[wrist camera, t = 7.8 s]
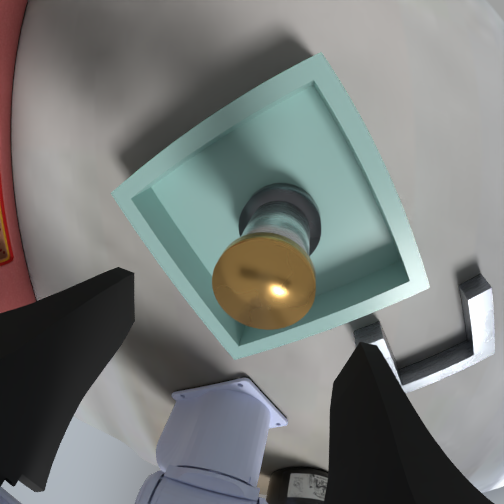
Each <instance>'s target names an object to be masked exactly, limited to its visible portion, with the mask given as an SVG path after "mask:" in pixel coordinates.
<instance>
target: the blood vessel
mask: <svg viewBox="0 0 504 504" xmlns="http://www.w3.org/2000/svg"><path fill="white" fill-rule="evenodd" d="M27 1H28V0H0V313H3V312H6V311H9V310H13V309H16V308H19V307H22V306H25V305H28V304H31V303H34V302H36V299H35V296H34V292H33V289H32V285H31V281H30V278H29V274H28V270H27V266H26V261H25V257H24V252H23V248H22V243H21V237H20V232H19V226H18V220H17V214H16V206H15V199H14V190H13V179H12V166H11V140H10V123H11V98H12V85H13V75H14V66H15V59H16V52H17V46H18V40H19V35H20V30H21V25H22V21H23V16H24V12H25V8H26V4H27Z"/></svg>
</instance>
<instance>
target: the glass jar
mask: <svg viewBox="0 0 504 504" xmlns="http://www.w3.org/2000/svg"><path fill="white" fill-rule="evenodd" d="M238 226H239V235H240V238H238V239H236V240H235V241H233V242H232V243H231V244H230V245H228V246H227V248H226V249H225V250H224V252H223V253H222V255H221V257H220V258H219V260H218V262H217V264H216V265H215V268H214V270H213V275H212V288H213V292H214V295H215V298H216V300H217V301H218V303H219V305H220V306H221V307H222V309H223V310H224V311H225V312H226V313H227V314H228V315H229V316H231V317H232V318H233V319H235V320H236V321H238V322H240V323H242V324H244V325H246V326H249V327H252V328H257V329H264V330H273V329H280V328H285V327H287V326H290V325H292V324H294V323H296V322H298V321H299V320H301V319H302V318H303V317H304V316H305V315H306V314H307V313H308V311H309V310H310V308H311V307H312V304H313V302H314V299H315V293H316V273H315V268H314V265H313V262H312V260H311V259H310V257H309V256H310V255H311V254H312V253H313V252H314V251H315V249H316V248H317V246H318V244H319V241H320V237H321V216H320V211H319V208H318V206H317V204H316V202H315V200H314V199H313V198H312V197H311V195H310V194H309V193H307V192H306V191H305V190H303V189H302V188H300V187H298V186H296V185H293V184H288V183H273V184H269V185H266V186H264V187H262V188H260V189H259V190H258V191H256V192H255V193H254V194H253V195H252V196H251V198H250V199H249V200H248V202H247V203H246V205H245V206H244V208H243V210H242V212H241V214H240V218H239V225H238Z"/></svg>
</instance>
